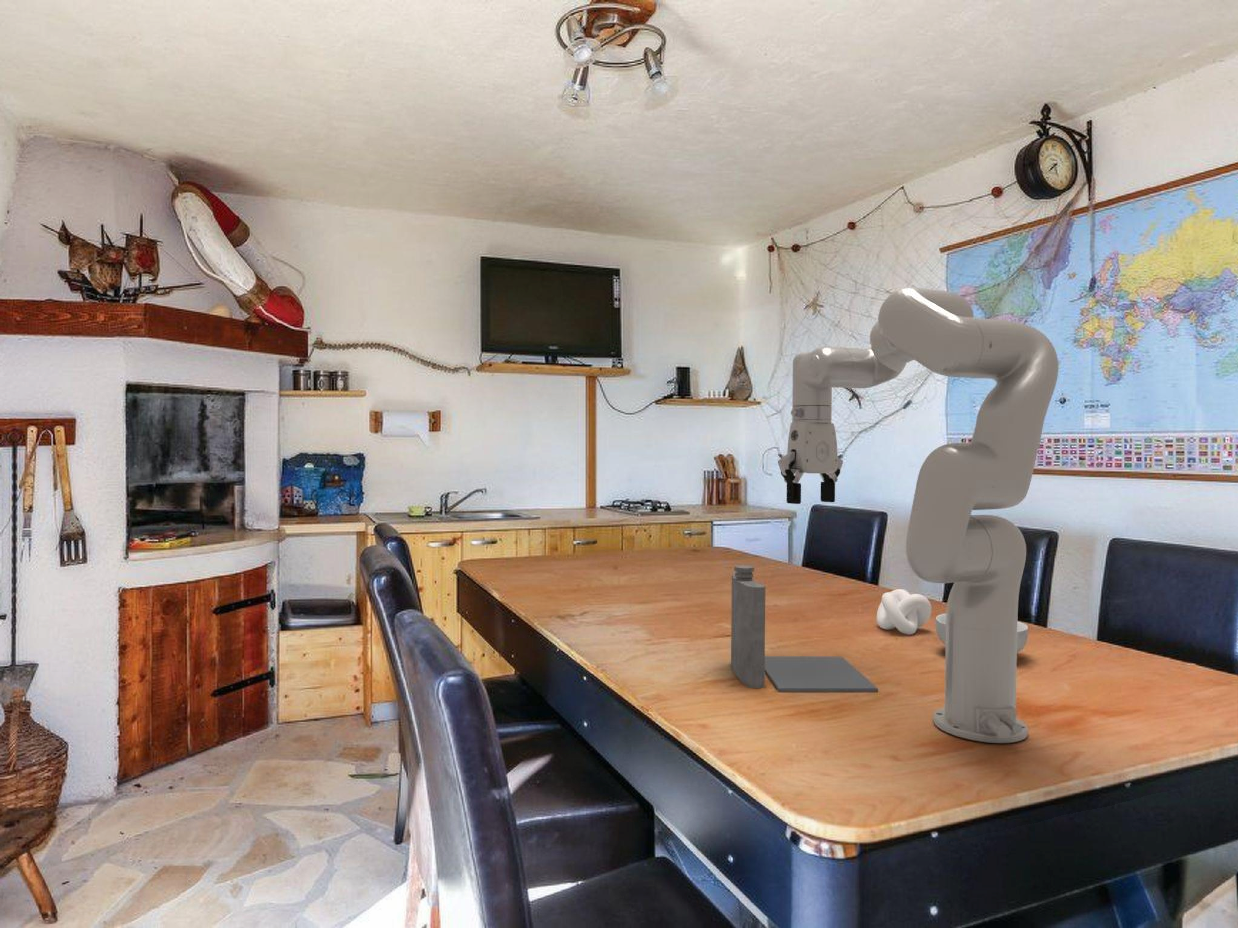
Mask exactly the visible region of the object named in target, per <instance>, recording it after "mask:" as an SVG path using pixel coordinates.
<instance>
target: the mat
mask: <svg viewBox="0 0 1238 928" xmlns="http://www.w3.org/2000/svg"><path fill="white" fill-rule="evenodd" d="M765 676H767V678H768V679H769V680H770V682H771V684H772V685H773V686H774V687H775V689H776V690H777V692H778V693H878V692H879V688H878V687H877V686H876V685H875V684H874V683H872V681H870V680H869V679H868V678H867V677H866V676H864V675H863V674H862V673H861V672H860V670H858V669H857V668H856V667H855V666H853V665H852V664H851V663H850V662H849V661H848V660H846V659H845V658H844V657H843V656H839V655H838V656H833V655H832V656H829V655H827V656H823V655H822V656H819V655H818V656H816V655H815V656H809V655H808V656H803V655H802V656H794V655H793V656H792V655H791V656H790V655H789V656H785V655H783V656H775V655H774V656H768V655H765Z"/></svg>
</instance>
